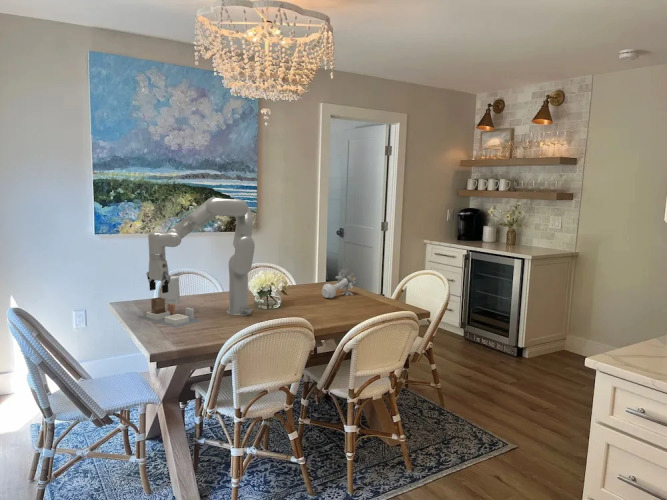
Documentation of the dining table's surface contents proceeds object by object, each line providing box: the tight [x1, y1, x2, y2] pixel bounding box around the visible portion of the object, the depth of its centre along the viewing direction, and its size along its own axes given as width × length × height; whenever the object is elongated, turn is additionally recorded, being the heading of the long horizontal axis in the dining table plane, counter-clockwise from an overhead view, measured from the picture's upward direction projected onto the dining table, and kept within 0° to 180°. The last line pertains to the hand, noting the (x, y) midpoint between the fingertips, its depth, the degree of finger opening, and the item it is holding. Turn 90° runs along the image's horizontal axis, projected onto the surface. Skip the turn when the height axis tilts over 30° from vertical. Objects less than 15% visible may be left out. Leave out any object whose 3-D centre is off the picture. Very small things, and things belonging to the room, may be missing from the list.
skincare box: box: [160, 275, 181, 305], centre depth 275 cm, size 8×7×16 cm
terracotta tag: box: [166, 303, 176, 315], centre depth 253 cm, size 4×1×5 cm, turn 56°
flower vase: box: [321, 267, 357, 299], centre depth 308 cm, size 13×18×25 cm
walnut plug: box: [150, 296, 166, 314], centre depth 246 cm, size 4×4×9 cm
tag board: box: [138, 310, 203, 329], centre depth 244 cm, size 29×16×4 cm, turn 56°
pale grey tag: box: [185, 307, 195, 320], centre depth 245 cm, size 4×1×5 cm, turn 56°
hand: (159, 291), depth 246 cm, fingers open, 9 cm apart
